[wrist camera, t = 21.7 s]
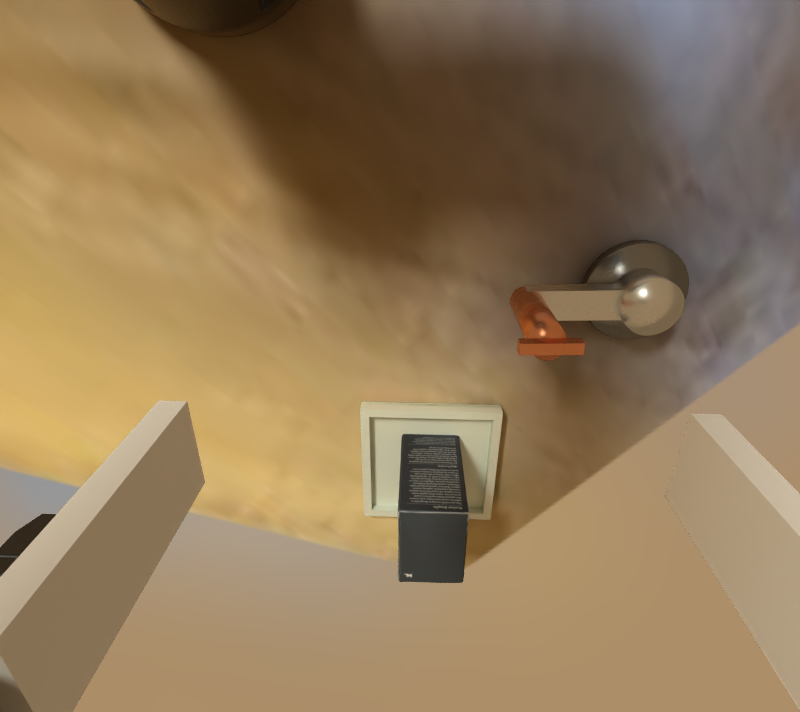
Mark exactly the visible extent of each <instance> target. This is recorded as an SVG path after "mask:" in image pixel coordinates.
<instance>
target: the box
mask: <svg viewBox="0 0 800 712" xmlns="http://www.w3.org/2000/svg"><path fill="white" fill-rule="evenodd" d="M397 514H398V546H399V550H398V580H399V581H400V582H435V583H461V582H463V577H464V565H465V553H466V542H467V530H468V519H469V509H468V502H467V495H466V487H465V479H464V471H463V463H462V455H461V448H460V440H459V436H457V435H430V434H403V435H402V439H401V461H400V480H399V499H398V512H397Z"/></svg>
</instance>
